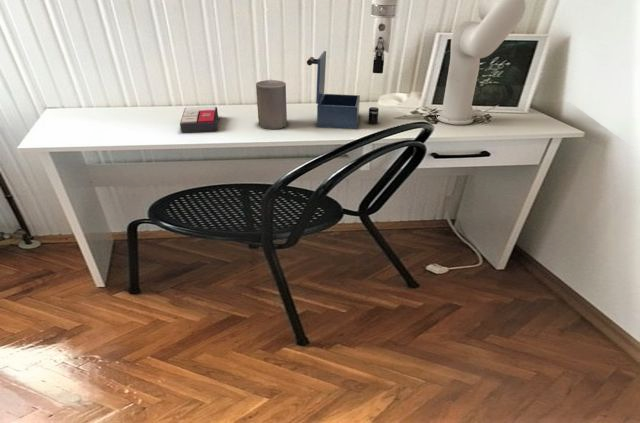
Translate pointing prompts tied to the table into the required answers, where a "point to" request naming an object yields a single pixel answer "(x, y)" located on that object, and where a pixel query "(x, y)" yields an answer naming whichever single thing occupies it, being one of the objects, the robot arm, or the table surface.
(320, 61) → the lid
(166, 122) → the table surface
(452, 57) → the robot arm
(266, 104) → the pillar candle
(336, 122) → the case
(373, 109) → the socket
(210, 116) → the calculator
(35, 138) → the table surface
